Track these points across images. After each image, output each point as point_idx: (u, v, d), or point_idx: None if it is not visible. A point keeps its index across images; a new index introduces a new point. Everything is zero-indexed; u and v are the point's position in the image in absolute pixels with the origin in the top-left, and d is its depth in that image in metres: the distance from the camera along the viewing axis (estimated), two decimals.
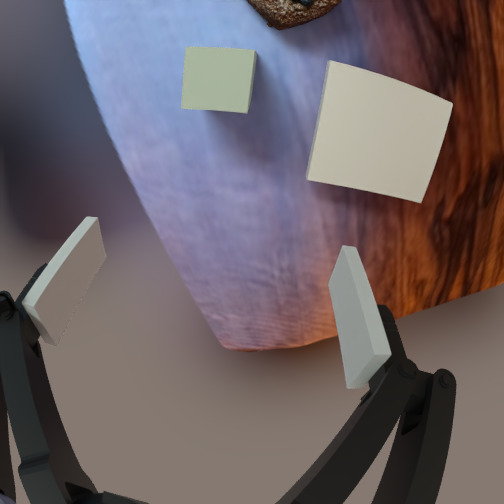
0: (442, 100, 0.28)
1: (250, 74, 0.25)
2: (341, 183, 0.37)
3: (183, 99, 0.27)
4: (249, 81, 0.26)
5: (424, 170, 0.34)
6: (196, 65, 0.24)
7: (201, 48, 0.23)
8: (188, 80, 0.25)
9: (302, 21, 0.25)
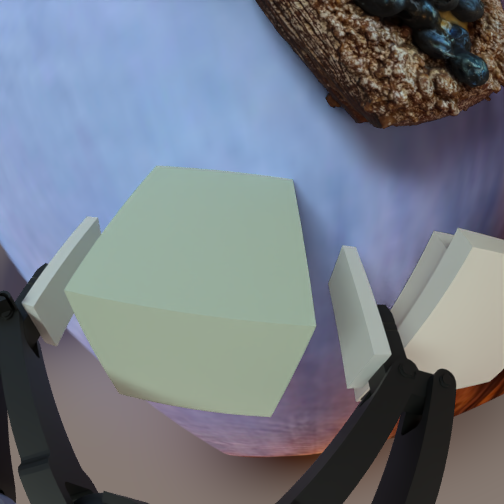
0: None
1: (288, 375, 0.09)
2: None
3: (117, 385, 0.11)
4: (283, 385, 0.09)
5: None
6: (116, 341, 0.08)
7: (113, 305, 0.07)
8: (112, 363, 0.09)
9: (432, 119, 0.09)
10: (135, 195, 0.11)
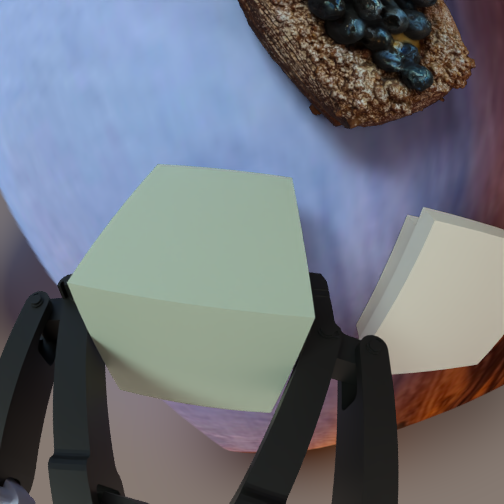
0: None
1: (288, 368, 0.09)
2: (391, 372, 0.23)
3: (117, 380, 0.11)
4: (283, 379, 0.09)
5: (495, 336, 0.21)
6: (118, 334, 0.08)
7: (115, 296, 0.07)
8: (113, 357, 0.09)
9: (393, 119, 0.13)
10: (137, 193, 0.12)
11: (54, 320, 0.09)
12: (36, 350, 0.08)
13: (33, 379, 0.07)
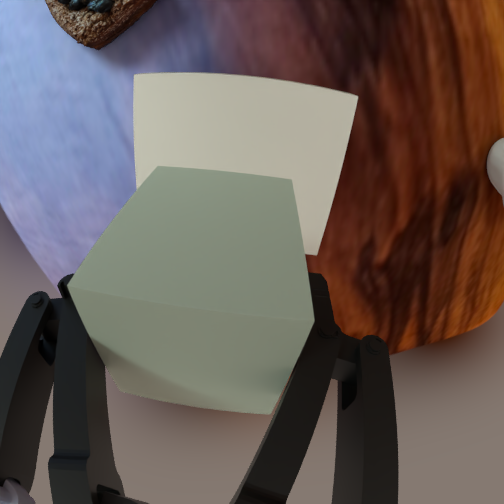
0: (335, 93, 0.19)
1: (288, 371, 0.09)
2: None
3: (117, 382, 0.11)
4: (283, 381, 0.09)
5: (314, 209, 0.26)
6: (118, 336, 0.08)
7: (115, 300, 0.07)
8: (113, 360, 0.09)
9: (110, 32, 0.17)
10: (137, 195, 0.12)
11: (54, 320, 0.09)
12: (36, 350, 0.08)
13: (33, 379, 0.07)
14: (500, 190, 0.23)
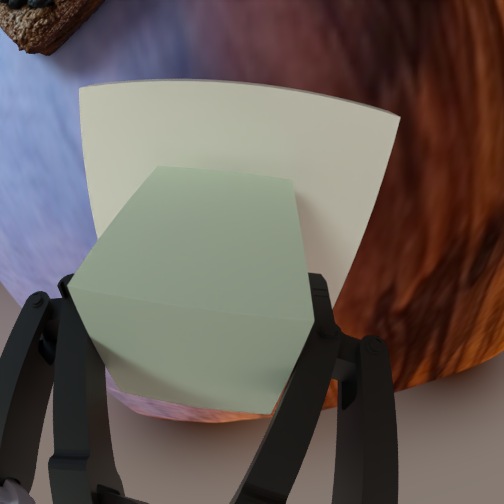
0: (368, 112, 0.13)
1: (288, 371, 0.09)
2: None
3: (117, 382, 0.11)
4: (283, 381, 0.09)
5: (329, 268, 0.20)
6: (118, 336, 0.08)
7: (115, 300, 0.07)
8: (113, 360, 0.09)
9: (57, 31, 0.11)
10: (137, 194, 0.12)
11: (54, 320, 0.09)
12: (36, 350, 0.08)
13: (33, 379, 0.07)
14: None
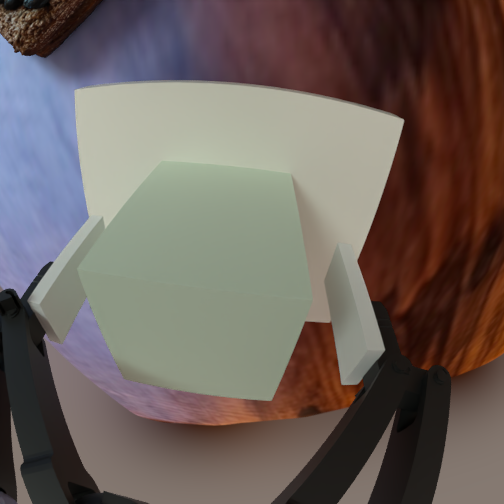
0: (371, 114, 0.13)
1: (288, 353, 0.09)
2: None
3: (122, 369, 0.11)
4: (283, 364, 0.10)
5: None
6: (124, 319, 0.09)
7: (124, 281, 0.08)
8: (118, 345, 0.10)
9: (53, 33, 0.11)
10: (143, 187, 0.12)
11: None
12: None
13: None
14: None
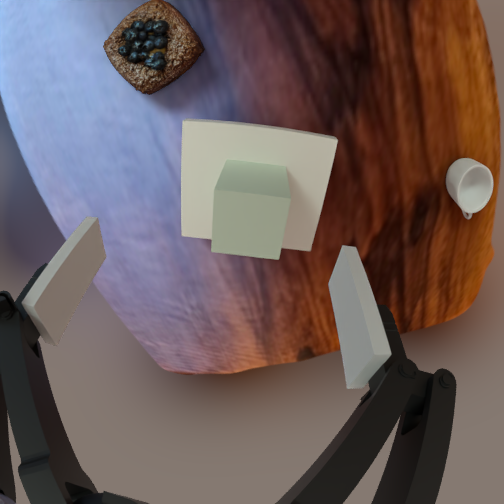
0: (321, 138, 0.31)
1: (284, 224, 0.28)
2: None
3: (213, 243, 0.29)
4: (283, 230, 0.28)
5: (307, 218, 0.37)
6: (226, 210, 0.27)
7: (232, 193, 0.26)
8: (218, 225, 0.28)
9: (162, 84, 0.29)
10: (224, 168, 0.30)
11: None
12: None
13: None
14: (455, 200, 0.34)
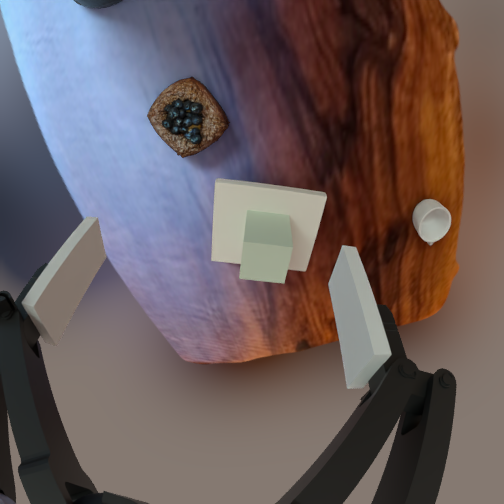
0: (315, 196, 0.46)
1: (288, 262, 0.42)
2: (236, 262, 0.55)
3: (240, 273, 0.44)
4: (287, 266, 0.43)
5: (304, 249, 0.52)
6: (250, 254, 0.42)
7: (255, 244, 0.41)
8: (244, 263, 0.43)
9: (198, 151, 0.44)
10: (247, 220, 0.45)
11: None
12: None
13: None
14: (418, 233, 0.49)
